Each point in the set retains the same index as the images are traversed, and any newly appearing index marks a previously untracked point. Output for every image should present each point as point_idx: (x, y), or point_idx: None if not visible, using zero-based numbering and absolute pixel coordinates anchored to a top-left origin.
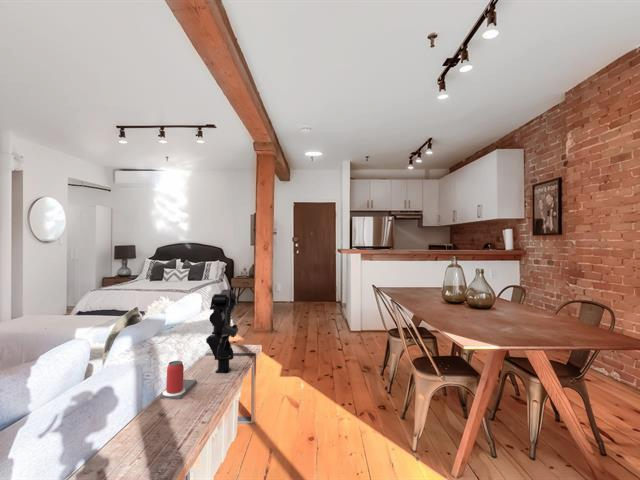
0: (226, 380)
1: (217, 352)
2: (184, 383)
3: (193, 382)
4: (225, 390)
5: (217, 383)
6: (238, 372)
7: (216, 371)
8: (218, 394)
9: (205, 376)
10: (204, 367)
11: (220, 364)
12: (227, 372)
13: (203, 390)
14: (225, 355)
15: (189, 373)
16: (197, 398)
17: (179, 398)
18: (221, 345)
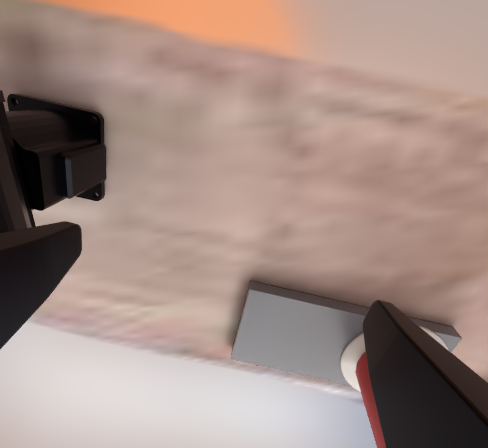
0: (242, 112)
1: (428, 346)
2: (292, 334)
3: (287, 300)
4: (431, 103)
5: (286, 170)
6: (79, 23)
7: (93, 194)
8: (483, 147)
9: (164, 246)
10: None
11: (73, 185)
12: (101, 117)
13: (378, 238)
14: (10, 163)
15: (122, 319)
16: (485, 257)
17: (453, 330)
18: (1, 307)
